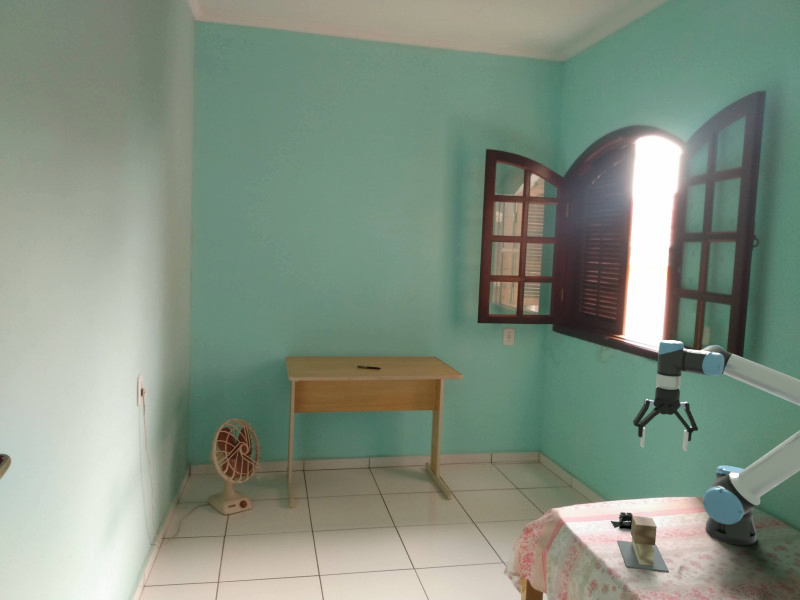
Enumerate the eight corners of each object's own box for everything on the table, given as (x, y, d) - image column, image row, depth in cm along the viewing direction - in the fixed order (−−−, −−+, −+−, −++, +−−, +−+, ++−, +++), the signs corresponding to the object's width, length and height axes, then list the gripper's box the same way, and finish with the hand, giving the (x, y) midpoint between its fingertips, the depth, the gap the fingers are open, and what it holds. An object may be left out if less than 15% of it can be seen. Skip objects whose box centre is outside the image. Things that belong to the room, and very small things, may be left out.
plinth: (644, 546, 197) (645, 531, 196) (653, 565, 185) (654, 549, 184) (631, 544, 197) (632, 529, 197) (639, 564, 186) (640, 548, 185)
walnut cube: (650, 536, 193) (652, 517, 192) (655, 545, 187) (656, 526, 187) (630, 533, 194) (632, 515, 194) (634, 543, 188) (635, 524, 188)
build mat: (656, 545, 198) (656, 544, 198) (668, 572, 182) (668, 570, 182) (617, 541, 200) (617, 540, 200) (626, 567, 184) (626, 565, 184)
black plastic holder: (640, 523, 215) (641, 510, 214) (648, 533, 208) (649, 520, 207) (605, 521, 216) (606, 508, 215) (611, 531, 208) (612, 518, 208)
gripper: (704, 386, 206) (699, 447, 208) (626, 381, 210) (622, 441, 212) (711, 392, 198) (706, 455, 200) (631, 386, 202) (626, 448, 205)
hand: (663, 448), depth 206 cm, fingers open, 13 cm apart
